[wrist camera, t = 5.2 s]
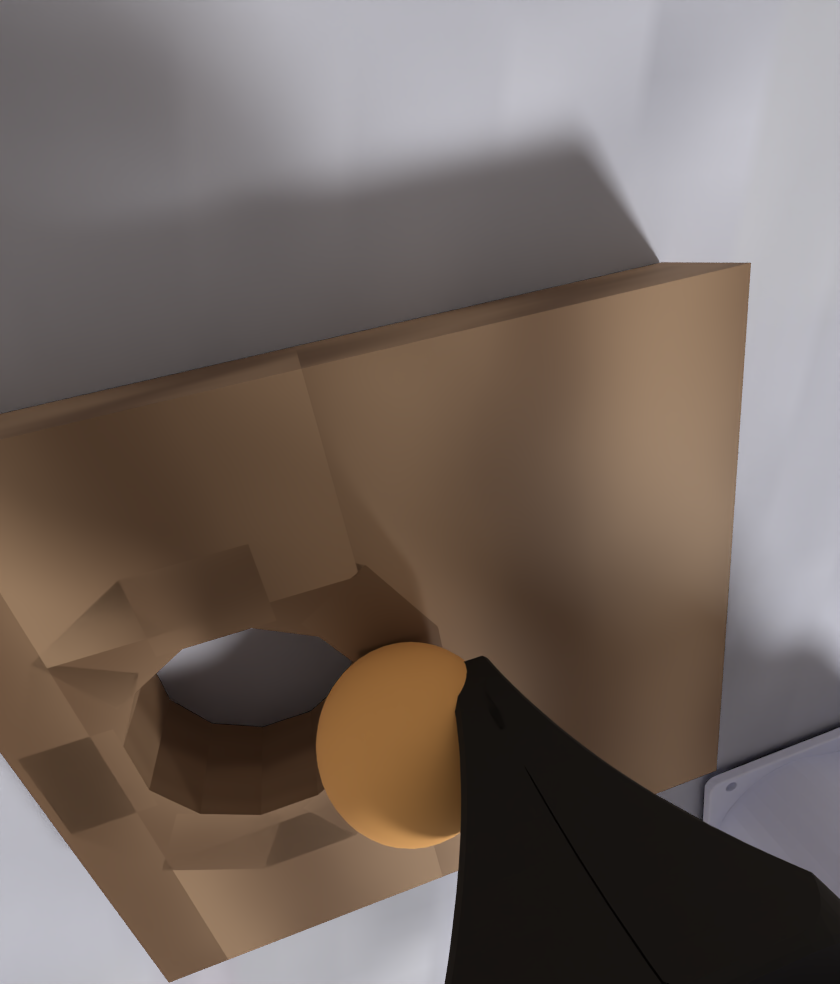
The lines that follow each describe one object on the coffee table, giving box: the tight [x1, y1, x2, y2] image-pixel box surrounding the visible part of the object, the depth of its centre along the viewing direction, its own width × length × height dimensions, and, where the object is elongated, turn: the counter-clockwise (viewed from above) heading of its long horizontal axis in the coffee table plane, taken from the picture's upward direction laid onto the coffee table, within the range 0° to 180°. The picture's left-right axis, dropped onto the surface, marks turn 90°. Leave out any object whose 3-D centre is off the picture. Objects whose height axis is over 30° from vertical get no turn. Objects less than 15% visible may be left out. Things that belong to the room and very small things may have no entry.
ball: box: [316, 642, 467, 849], centre depth 12 cm, size 4×4×4 cm
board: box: [0, 262, 751, 982], centre depth 15 cm, size 18×16×3 cm
